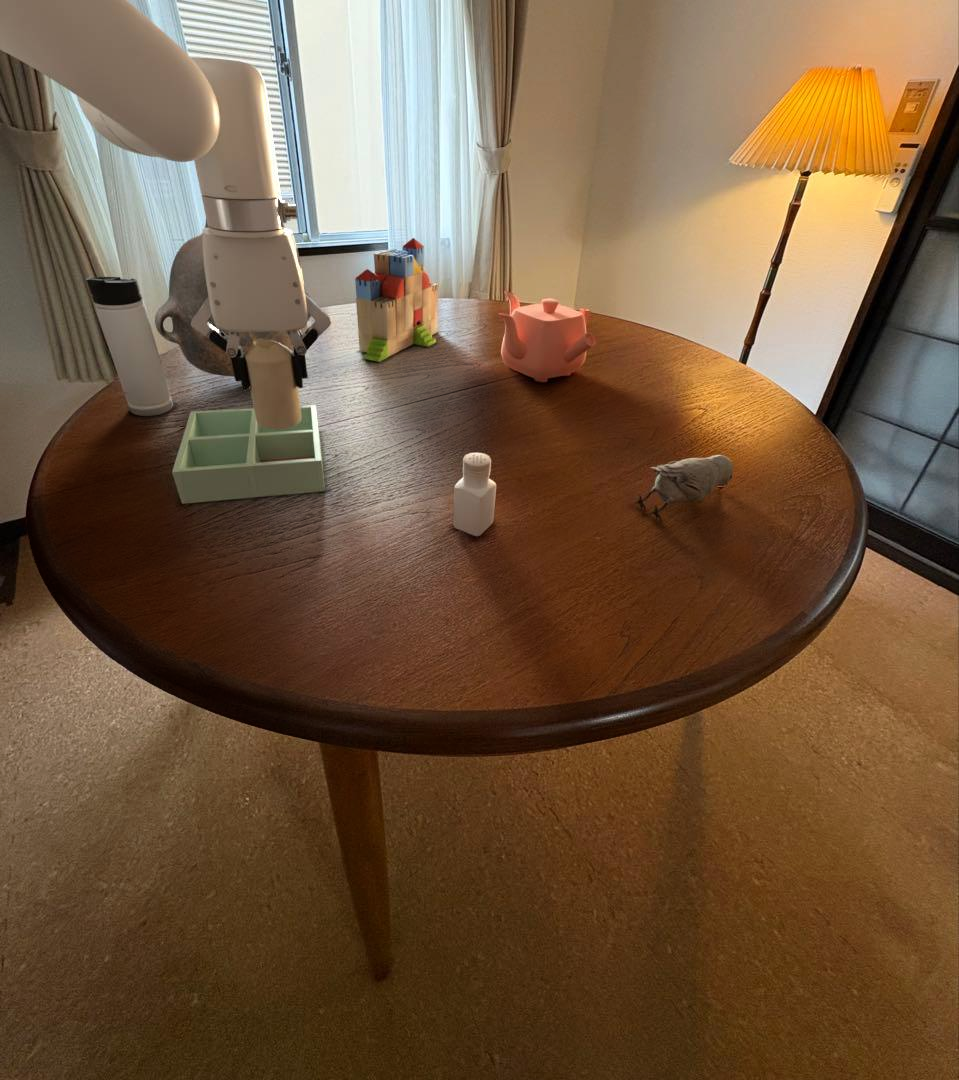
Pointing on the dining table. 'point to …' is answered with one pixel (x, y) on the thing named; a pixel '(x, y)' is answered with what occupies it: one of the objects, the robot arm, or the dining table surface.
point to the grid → (247, 457)
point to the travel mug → (131, 344)
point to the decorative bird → (689, 480)
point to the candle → (273, 384)
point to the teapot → (545, 338)
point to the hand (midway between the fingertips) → (273, 383)
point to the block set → (396, 303)
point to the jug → (186, 302)
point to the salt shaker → (474, 495)
